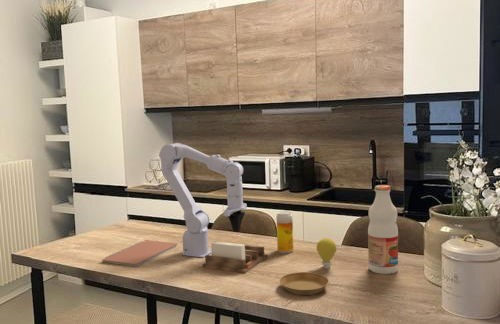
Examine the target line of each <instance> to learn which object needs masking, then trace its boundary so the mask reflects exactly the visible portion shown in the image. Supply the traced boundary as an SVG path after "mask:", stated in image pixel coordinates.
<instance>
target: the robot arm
mask: <svg viewBox="0 0 500 324" xmlns="http://www.w3.org/2000/svg"><path fill="white" fill-rule="evenodd" d="M158 156H159V158H160V169H161V173H162V174H163V177H164V178H165V180H166V182H167V183H168V185H169V188H170V189H171V190H172V193H173V194H174V196H175V198H176V200H177V202H178V203H179V204H180V207H181V208H182V210H183V219H184V221H185V227H186V229H187V230H185V231H184V232H183V234H182V253H181V255H182V256H187V257H188V256H189V257H195V258H204V257H205V256H206V255H210V254H212V251H211V249H209V228H208V225H209V223H210V216H209V215H208V213H207V212H205V211H204V210H203V208H202V207H201V206H200V205H198V204H197V202H195V199H194V198H193V195H192V194H191V192H190V190H189V189H188V187H187V185H186V183H185V182H184V180H183V178H182V176H181V174H180V172H179V171H178V166H179V163H180V161H181V160H182V159H185V158H187V159H188V158H189V159H191V160H194V161H196V162H200V163H202V164H205V165H206V166H207V169H208V170H211V171H213V172H216V173H218V174H220V175H222V176H224V177H225V178H226V190H227V191H226V193H227V194H226V195H227V207H226V209H224V210H223V216H224V217H227V218H228V219H229V222H230V225H231V228H232V231H233V232H235V233H236V232H237V233H238V232H240V230H241V225H242V222H243V219H244V216H245V214H246V212H245V210H247V209H248V207H247V206H248V205H247V203H245V202H244V199H243V197H244V195H243V190H244V189H243V179H242V178H243V177H242V175H243V174H244V167H243V165H242V164H240V162H238V161H234V162H233V160H231V159H227V158H223V157H221V155H220V154H213V155H208V154H205V153H203V152H201V151H200V150H198V149H195V148H193V147H191V146H189V145H187V144H183V143H180V142H173V143H167V144H164V145H162V147H161V149H160V151H159V155H158Z"/></svg>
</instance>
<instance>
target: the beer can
mask: <svg viewBox="0 0 500 324" xmlns="http://www.w3.org/2000/svg"><path fill="white" fill-rule="evenodd" d="M293 217H294V216H293V214H292V212H291V211H278V212H277V213H276V238H277V240H276V242H277V248H276V249H277V251H278V253H280V254H291V253H292V252H293V251H294V226H293V225H294V222H293Z"/></svg>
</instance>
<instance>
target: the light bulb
mask: <svg viewBox="0 0 500 324" xmlns="http://www.w3.org/2000/svg"><path fill="white" fill-rule="evenodd" d="M316 251H317V254H318V255H319V257H320V258H321V260H322V261H321V264H322V265H323V268H324V269H330V268H331V265H333V263H332V259H333V258H334V256H335V253H336V252H337V244H336V243H335V241H334V240H333V239H331V238H327V237H324V238H322V239H320V240H319V241H318V242H317V245H316Z"/></svg>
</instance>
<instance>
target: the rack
mask: <svg viewBox="0 0 500 324" xmlns="http://www.w3.org/2000/svg"><path fill="white" fill-rule="evenodd" d="M204 257H205V258H204V260H205V261H204V263H203V264H202V265H201V266H202V268H205V269H211V270H212V269H213V270H220V271H228V272H235V273H241V274H246V273H248V272H249V271H250V270H252V269H254V268H255V267H256V266H257V265H259V264H261V263H262V262H263V261H264V260H266V259H268V254H267V253H266V254H265V246H259V245H251V244H250V245H248V244H245V260H244V259H235V258H227V257H219V256H212V254H211V255H210V254H208V255H206V256H204ZM245 263H246V264H245Z"/></svg>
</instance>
